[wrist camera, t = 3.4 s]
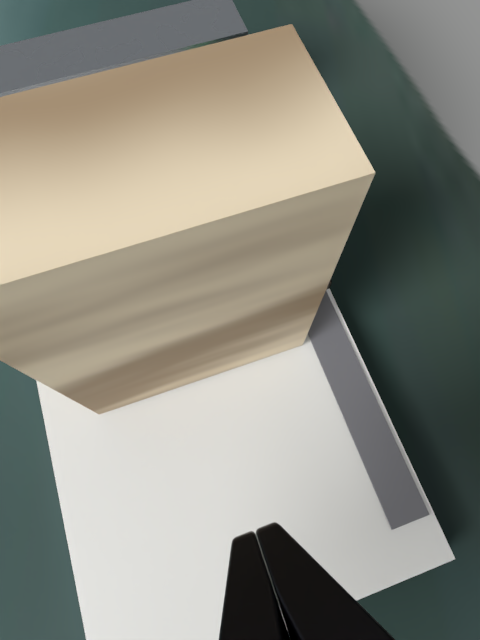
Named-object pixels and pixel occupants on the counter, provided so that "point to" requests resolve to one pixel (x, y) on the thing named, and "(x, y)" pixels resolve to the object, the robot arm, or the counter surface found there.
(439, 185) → the counter surface
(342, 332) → the plate
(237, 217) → the block
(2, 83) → the grey rectangular bar
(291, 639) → the robot arm
